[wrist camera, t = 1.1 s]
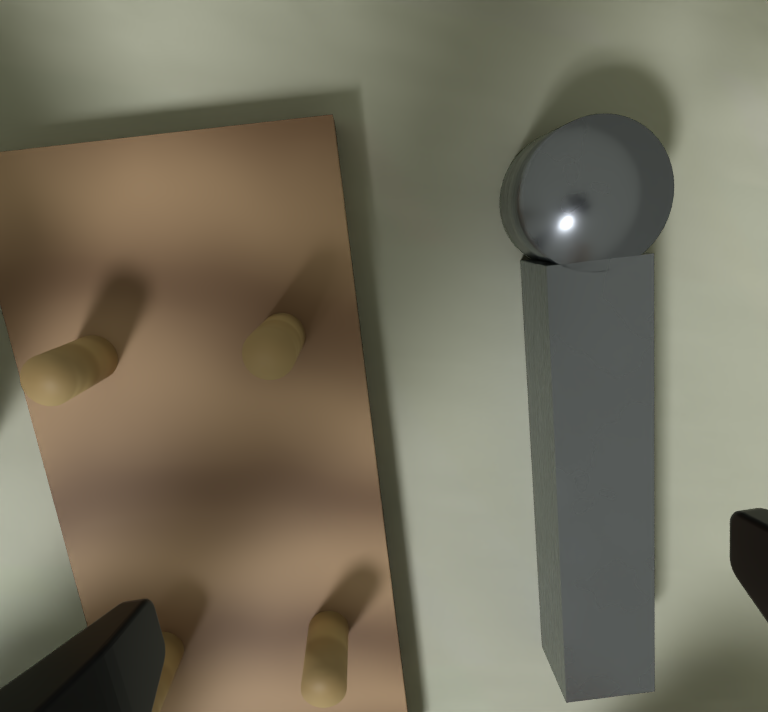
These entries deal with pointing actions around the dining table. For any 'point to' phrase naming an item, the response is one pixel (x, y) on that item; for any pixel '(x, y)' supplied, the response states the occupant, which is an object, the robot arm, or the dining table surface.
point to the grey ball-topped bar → (592, 390)
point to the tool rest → (208, 406)
